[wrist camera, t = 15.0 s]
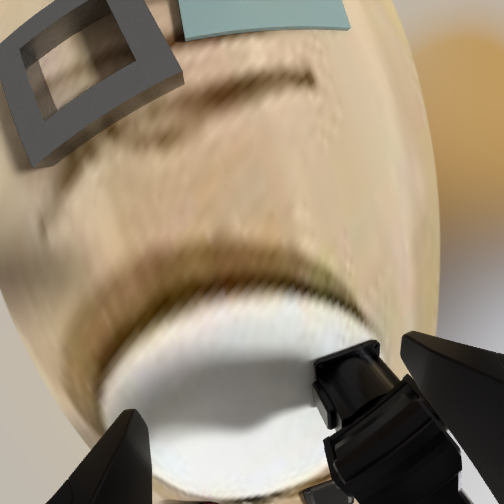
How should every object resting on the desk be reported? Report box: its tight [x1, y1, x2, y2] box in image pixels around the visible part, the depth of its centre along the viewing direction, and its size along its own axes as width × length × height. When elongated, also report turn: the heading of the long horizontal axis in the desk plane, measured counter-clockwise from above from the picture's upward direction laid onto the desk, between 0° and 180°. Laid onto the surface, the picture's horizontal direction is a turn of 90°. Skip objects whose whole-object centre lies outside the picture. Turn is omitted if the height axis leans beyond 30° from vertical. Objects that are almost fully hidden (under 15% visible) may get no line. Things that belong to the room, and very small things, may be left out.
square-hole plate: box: [0, 0, 184, 168], centre depth 14 cm, size 10×10×3 cm
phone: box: [303, 480, 354, 504], centre depth 35 cm, size 8×1×15 cm
